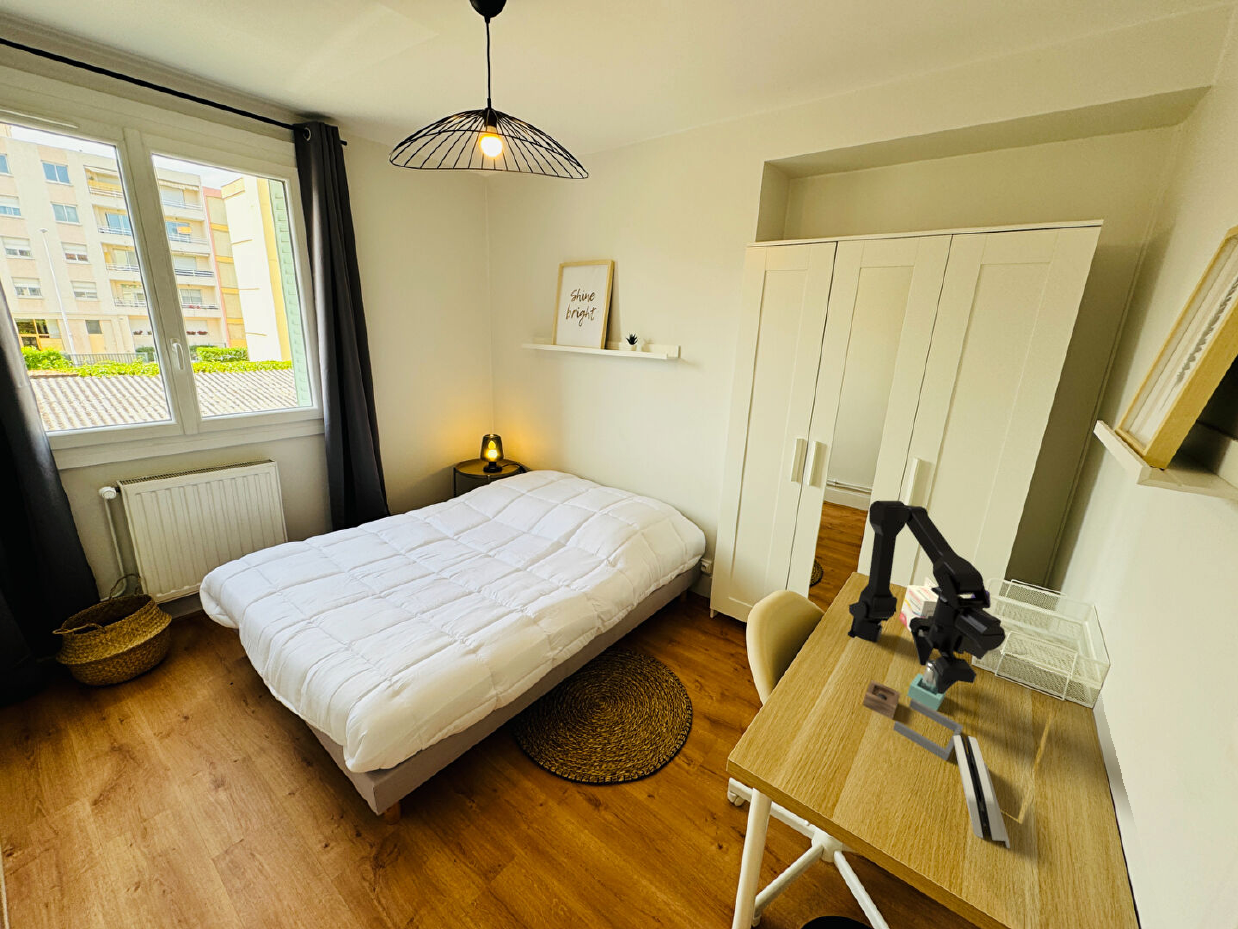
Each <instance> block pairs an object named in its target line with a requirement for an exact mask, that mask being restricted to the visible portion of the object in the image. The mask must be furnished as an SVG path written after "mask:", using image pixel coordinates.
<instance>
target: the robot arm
mask: <svg viewBox="0 0 1238 929" xmlns="http://www.w3.org/2000/svg"><path fill="white" fill-rule="evenodd" d="M868 512H869V514H868V516H869V519H868V521H869V523H870V526H871V527H872V530H873V532H874V536H873V543H872V553H871V560H870V567H869V574H868V575H869V576H868V584H866V586H865V587H864V588H863V589H862V591H861V592H860V595H859V598H858V601H857V602H854V603H851V604H849V605H848V612H849V614H850V615H851V616H852V620H851V626H850V630H849V631H848V632H847V636H849V637H851V638H854V639H855V637H857V638H859V639H860V640H864V641H869V642H873V643H878V641H879V640H881V636H882V635H881V634H882V632H883V625H882V623H883V622H888V621H889V619H891V618H892V617H894V615H895V613H897V602H898V598H897V596H894V594H893V592H892V591H891V588H890V585H891V578H892V572H893V563H894V558H895V550H896V549H895V548H896V543H897V542H896V541H897V537H898V535H899V533H900V532H901V531H902V530H903V529H904V528H905V526H907V527H908V529H909V531H910V532H911V533H912V535H913V536H914V538H915V540H916V541H917V542H918V544H919V545H920V547H921V548H922V550H923V551H924V552H925V554H926V555H927V557H928V559H929V560H930V562H931V564H932V575H933V577H934V579H935V581H936V583H937V585H938V586H937V587H931V591H933V592H934V593H935V594H937V595H938V599H937V603H936V607H935V610H934V614H933V616H928V619H926V618H919V617H915V618H913V619H911V620H910V624H909V627H910V628H911V632H910V634H911V635H912V639H913V642H914V646H915V650H916V653H917V657H918V658H917V659H918V661H919V662H918V663H919V665H921V666H923V667H924V666H926V662H927V660H928V659H930V657H931V655H932V653H933V650H937V652H938V653H939V655H940V656H939V657H937V658H936V667H935V666H934V673H935V681H936V689H937V693H938V694H944V693H945V692H946V693H947V691H948V690H949V689H951V687H952V686H953V685H954V684H956V683H957V682H964V683H968V684H969V683H970V684H973V683H975V681H976V678H977V675H978V674H977V673H976V672H975V670H974V669H973V668H972V666H971V665H970V663H969V662H968V661H967V660H966V659H965V658H960V657H957V656H956V655H955V653H956V654H958V655H964V654H965V653H967V654H968V655H969V654H970V656H973V657H975V659H977V660H982V659H983V658H984V657H985V656H986V654H987V653H988V652H990V651H993V650H995V649H998V648H999V647H1001V646H1002V644H1003V643H1004V641H1005V639H1006V637H1007V636H1006V631H1005V629H1004V628H1003V627H1002V626H1001V623H1002V620H1001V619H999V618H998V617H996V616H994V615H992V614H990V612H987V611H986V610H985V608H987V609H990V608H991V606H990V604H989V601H988V599H989V598H988V596H987V594H986V590H987V589H986V587H985V584H984V578H983V575H982V574H981V572H980V571H979V570H978V569H977V568H976V567H975V566H974V565H973V564H972V563H971V562H970V561H969V560H967V559H966V558H964V557H961V556H960V555H958V553H956V552H955V551H954V549H953V548H952V547H951V545H950V544H949V542H948V541H947V540H946V538H945V536H943V534H942V533H941V532H940V530H939V529H938V527H937V526H936V525H935V523H934V522H933V520H932V519H931V518H930V516H929V513H928V511H927V509H926V507H923V506H921V505H920V506H919V505H918V506H917V505H916V506H915V505H911V504H910V505H908V504H904V502H903V501H901V500H875V501H873V503H871V504H870V507H869V511H868ZM973 594H974V596H975V598H970V597H963V596H964V595H965V596H966V595H967V596H968V595H969V596H972V595H973ZM964 652H965V653H964Z"/></svg>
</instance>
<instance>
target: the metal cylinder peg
mask: <svg viewBox="0 0 1238 929" xmlns="http://www.w3.org/2000/svg"><path fill="white" fill-rule="evenodd" d="M925 666H926V667H925V669H924V674H923V680H922V683H921V688H923V689H925V690H926V691H928V692H930V693H932V694H934V693H935V690H936V681H935V673H934V666H935V667H936V660H935V659H930V658H929V659H928V660H927V662H926V665H925Z"/></svg>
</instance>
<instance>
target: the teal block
mask: <svg viewBox="0 0 1238 929" xmlns="http://www.w3.org/2000/svg"><path fill="white" fill-rule="evenodd" d="M923 676H924V674H921V673H920V672H919V673H917V674H916V675H915V677H914V678H913V680H912V682H911V683H910V684H909V686H908V687H909V688H908V692H907V694H906V695H907V697H909V698H911V699H914V700H916V701H918V702H919V703H921V704H923V705H925V706H927V707H929V708H931V709H932V710H934V711H936V712H938V710H939V708H940V706H941V704H942V702H943V701H944V700H945V696H946V693H947V691H946V692H945V693H944V694H938V693H937V689H936V690H935V693H934V694H932V693H930V692H928V691H926V690H925V689H923V688H921V683H922V680H923Z"/></svg>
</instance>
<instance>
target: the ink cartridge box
mask: <svg viewBox="0 0 1238 929" xmlns="http://www.w3.org/2000/svg"><path fill="white" fill-rule="evenodd" d="M934 587H938V586H937V585H936V584H935V583H934V582H933V581H931V580H930V579H929V578H928V577H927V576H925V577H924V584H923V585H918V584H917V585H913V584H907V587H906V591H905V596H904V599H903V602H902V603H903V604H902V605H901V606H902V607H901V610H900V615H899V618H898V619H899V620H900V622H901V623H902V624H903V625H904V626H905V627H906V628H907V629H908V631H909V632H910V633H911V628H910V627H909V624H910V620H911V619H913V618H915V617H919V618H926V619H928V616H933V614H934V610H935V607H936V603H937V599H938V595H937V594H935V593H934V592H933V591H931V588H934Z"/></svg>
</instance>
